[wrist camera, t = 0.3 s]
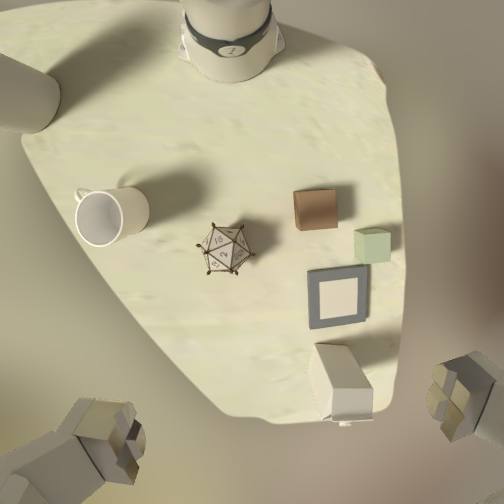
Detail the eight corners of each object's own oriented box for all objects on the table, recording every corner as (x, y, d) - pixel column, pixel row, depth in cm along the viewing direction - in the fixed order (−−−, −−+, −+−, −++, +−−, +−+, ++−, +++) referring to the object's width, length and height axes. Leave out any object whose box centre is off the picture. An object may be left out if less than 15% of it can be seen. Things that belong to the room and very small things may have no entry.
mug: (86, 203, 51) (51, 210, 39) (112, 166, 49) (79, 163, 38) (131, 244, 52) (104, 260, 41) (159, 207, 51) (136, 214, 39)
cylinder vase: (26, 146, 47) (-63, 139, 23) (13, 101, 45) (-67, 82, 20) (69, 109, 46) (-18, 80, 22) (53, 65, 44) (-23, 26, 19)
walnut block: (293, 191, 51) (298, 192, 46) (327, 189, 51) (335, 189, 46) (295, 226, 53) (300, 231, 48) (329, 223, 53) (337, 227, 48)
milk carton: (313, 342, 57) (339, 404, 39) (347, 345, 58) (382, 402, 39) (305, 372, 59) (325, 437, 40) (338, 374, 59) (366, 435, 41)
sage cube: (353, 230, 53) (363, 234, 48) (378, 228, 53) (390, 232, 48) (354, 257, 54) (364, 264, 49) (378, 254, 54) (390, 261, 49)
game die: (230, 230, 56) (251, 206, 47) (247, 274, 55) (272, 257, 46) (184, 242, 52) (197, 219, 43) (201, 290, 51) (218, 275, 42)
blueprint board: (307, 270, 54) (308, 273, 53) (364, 264, 54) (367, 266, 53) (309, 326, 57) (310, 329, 55) (363, 318, 57) (365, 321, 55)
